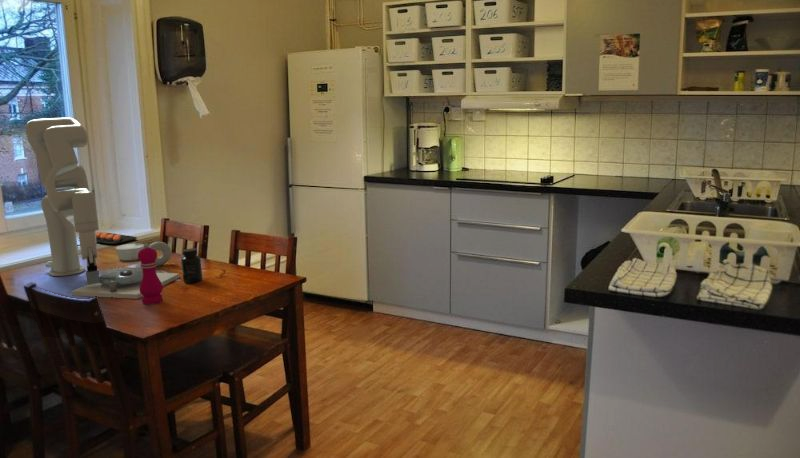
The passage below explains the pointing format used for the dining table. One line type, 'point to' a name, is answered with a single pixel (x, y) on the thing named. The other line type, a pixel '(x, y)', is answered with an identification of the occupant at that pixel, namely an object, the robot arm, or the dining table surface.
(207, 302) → the dining table surface
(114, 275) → the flange plate
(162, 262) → the donut
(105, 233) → the sushi plate
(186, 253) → the supplement bottle
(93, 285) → the base board
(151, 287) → the pepper mill
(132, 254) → the ramekin
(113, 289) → the steel dowel
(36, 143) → the robot arm
